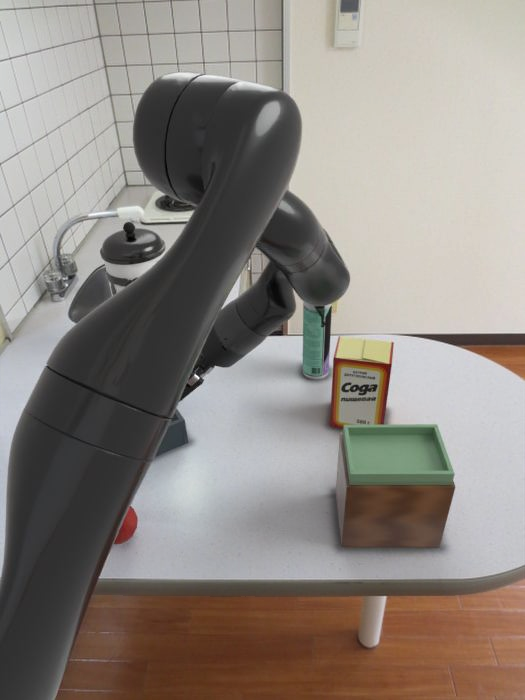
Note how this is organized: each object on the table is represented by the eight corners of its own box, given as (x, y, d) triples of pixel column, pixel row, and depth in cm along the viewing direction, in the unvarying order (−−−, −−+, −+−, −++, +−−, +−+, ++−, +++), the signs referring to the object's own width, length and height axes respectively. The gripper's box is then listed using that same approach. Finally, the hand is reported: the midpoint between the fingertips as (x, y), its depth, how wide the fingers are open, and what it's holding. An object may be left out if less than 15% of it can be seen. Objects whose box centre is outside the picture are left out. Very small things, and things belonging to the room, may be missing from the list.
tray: (349, 485, 68) (350, 474, 67) (342, 435, 76) (343, 424, 75) (452, 485, 68) (454, 473, 67) (434, 434, 75) (437, 424, 74)
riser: (341, 547, 76) (346, 486, 68) (335, 493, 84) (339, 433, 76) (439, 547, 75) (455, 486, 68) (424, 493, 83) (437, 433, 76)
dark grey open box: (115, 474, 88) (108, 451, 85) (91, 427, 98) (85, 405, 95) (188, 442, 94) (184, 419, 91) (159, 401, 104) (155, 379, 101)
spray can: (333, 373, 109) (338, 288, 98) (312, 382, 107) (314, 296, 95) (318, 360, 113) (321, 277, 101) (297, 369, 111) (297, 284, 99)
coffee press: (102, 350, 119) (69, 224, 102) (162, 324, 127) (141, 203, 110) (141, 385, 108) (113, 250, 91) (204, 354, 116) (189, 225, 99)
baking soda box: (329, 426, 96) (333, 355, 87) (334, 403, 101) (338, 334, 92) (382, 434, 94) (392, 362, 85) (384, 410, 99) (394, 340, 90)
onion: (94, 551, 76) (81, 516, 72) (112, 519, 81) (102, 484, 76) (131, 559, 75) (120, 524, 71) (147, 525, 80) (138, 490, 75)
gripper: (230, 291, 82) (171, 343, 91) (200, 341, 71) (136, 395, 80) (264, 323, 84) (203, 371, 93) (240, 377, 73) (174, 426, 82)
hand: (172, 382), depth 87 cm, fingers open, 8 cm apart
